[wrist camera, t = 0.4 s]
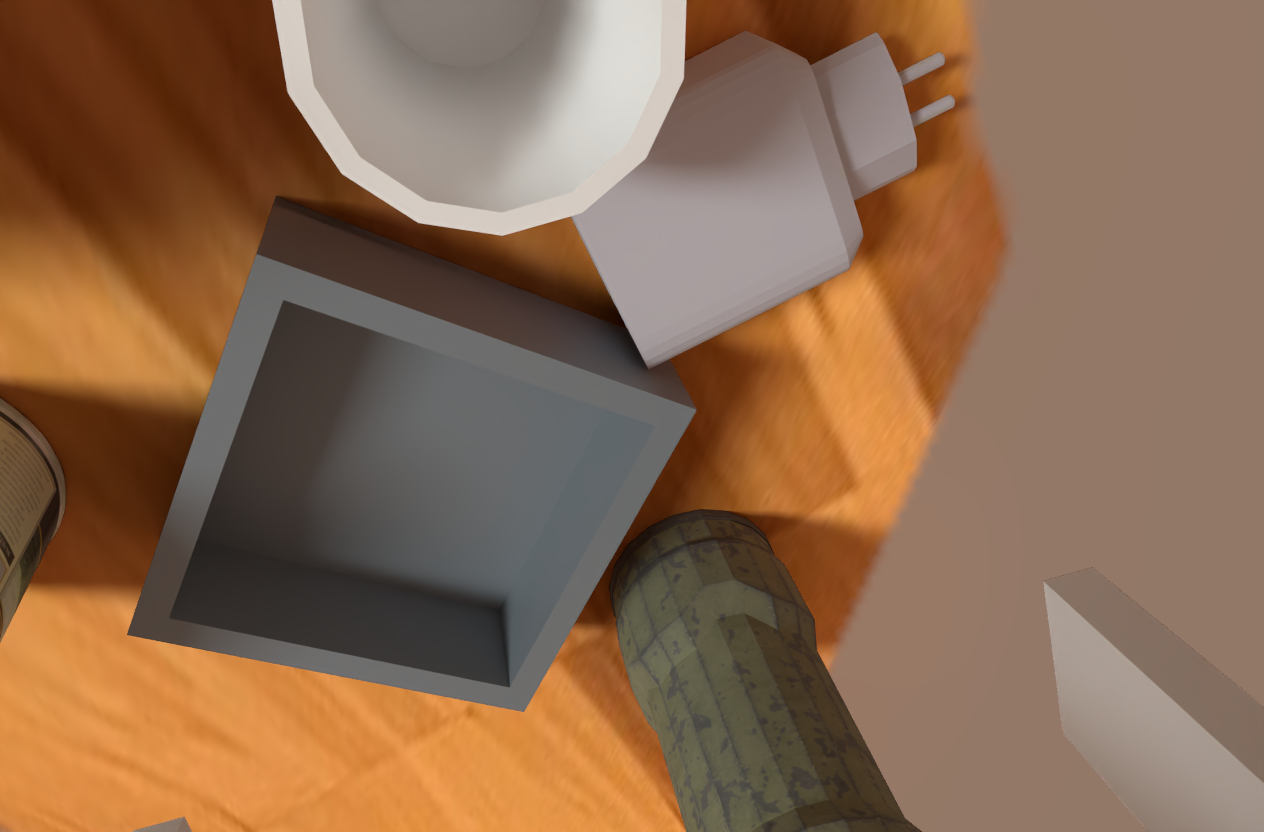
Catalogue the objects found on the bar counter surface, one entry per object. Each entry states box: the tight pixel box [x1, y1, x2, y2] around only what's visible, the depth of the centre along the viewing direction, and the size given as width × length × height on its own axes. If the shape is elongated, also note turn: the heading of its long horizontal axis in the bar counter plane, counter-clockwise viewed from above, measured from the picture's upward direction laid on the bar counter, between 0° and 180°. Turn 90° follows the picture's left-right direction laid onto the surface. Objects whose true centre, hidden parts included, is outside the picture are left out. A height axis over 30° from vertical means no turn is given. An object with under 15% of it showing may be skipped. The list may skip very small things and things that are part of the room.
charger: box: [571, 31, 955, 369], centre depth 37 cm, size 5×9×15 cm
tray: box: [127, 196, 697, 712], centre depth 39 cm, size 16×16×6 cm
